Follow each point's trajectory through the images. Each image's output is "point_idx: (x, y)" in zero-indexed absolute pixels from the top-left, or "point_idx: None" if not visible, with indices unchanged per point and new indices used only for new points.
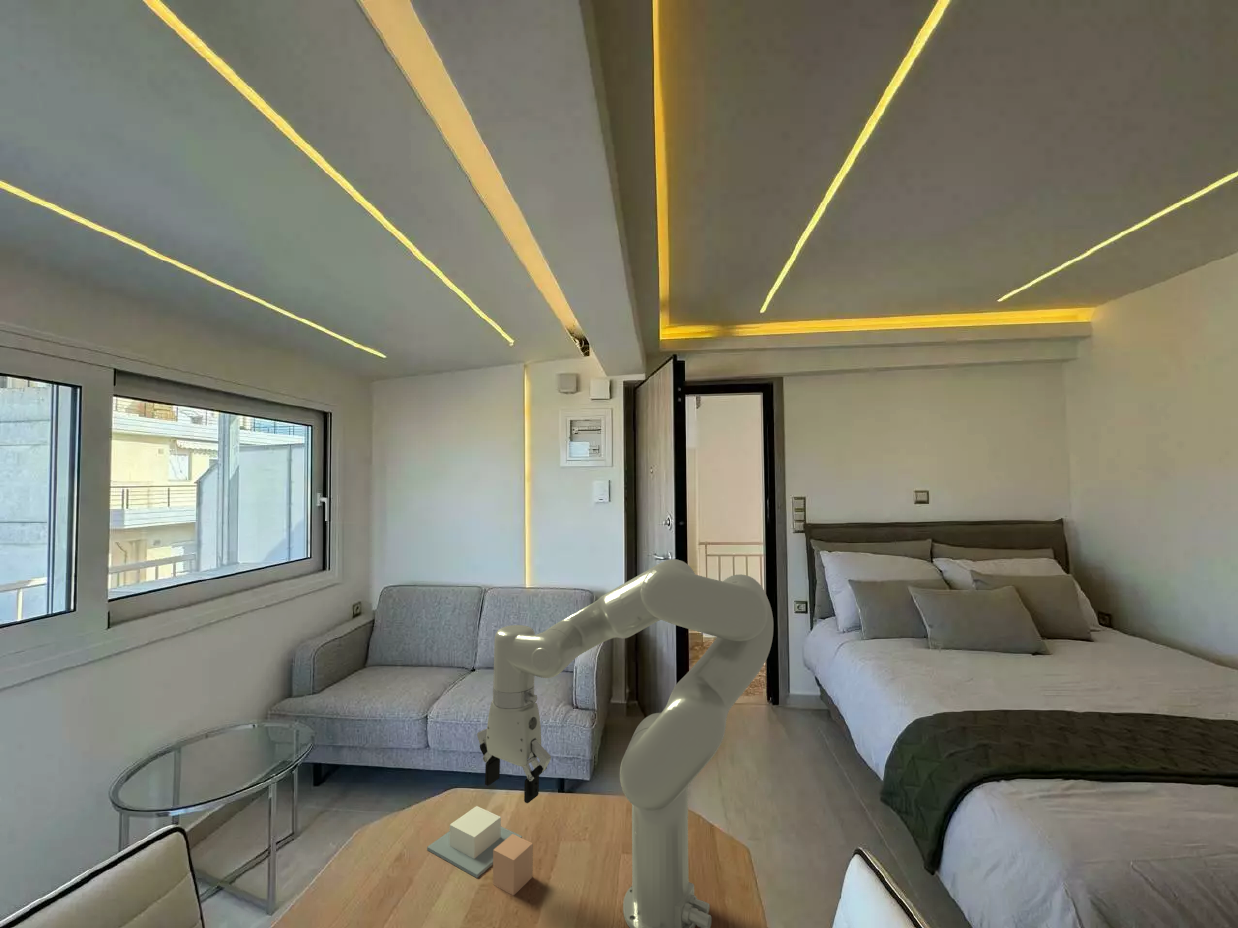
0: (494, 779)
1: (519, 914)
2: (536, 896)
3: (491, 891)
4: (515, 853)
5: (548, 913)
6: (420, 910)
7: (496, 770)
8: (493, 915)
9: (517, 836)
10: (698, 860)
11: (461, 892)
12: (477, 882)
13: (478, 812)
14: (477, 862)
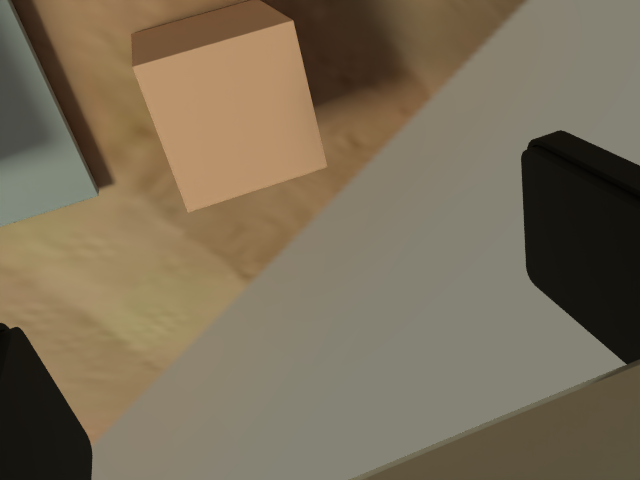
0: (54, 397)
1: (369, 140)
2: (351, 46)
3: None
4: (294, 138)
5: (443, 58)
6: (118, 378)
7: (28, 442)
8: (307, 209)
9: (176, 56)
10: None
11: (129, 257)
12: (118, 193)
13: None
14: (17, 164)
